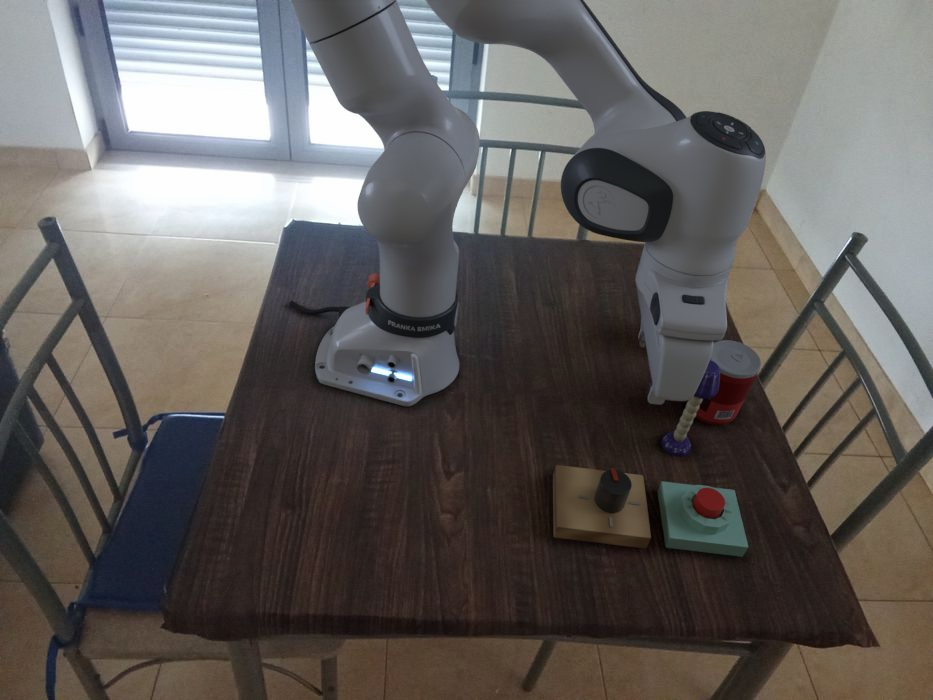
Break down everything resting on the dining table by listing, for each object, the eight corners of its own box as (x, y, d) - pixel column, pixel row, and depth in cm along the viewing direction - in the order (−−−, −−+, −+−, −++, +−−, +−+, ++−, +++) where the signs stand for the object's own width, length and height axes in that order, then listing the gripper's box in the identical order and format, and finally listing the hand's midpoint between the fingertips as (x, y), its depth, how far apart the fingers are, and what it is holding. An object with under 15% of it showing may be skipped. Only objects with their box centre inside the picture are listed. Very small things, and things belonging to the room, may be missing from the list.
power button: (695, 516, 91) (699, 508, 90) (690, 493, 94) (694, 485, 93) (723, 520, 91) (727, 512, 90) (718, 497, 94) (722, 489, 93)
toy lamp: (690, 462, 103) (728, 381, 91) (658, 456, 103) (692, 373, 92) (689, 438, 106) (726, 356, 95) (658, 431, 107) (691, 349, 95)
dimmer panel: (553, 537, 91) (556, 526, 90) (552, 475, 99) (556, 463, 97) (646, 549, 91) (651, 537, 89) (638, 486, 99) (643, 474, 97)
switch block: (665, 547, 92) (673, 530, 89) (657, 491, 98) (664, 473, 96) (742, 557, 92) (753, 539, 89) (729, 499, 98) (738, 482, 96)
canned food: (744, 408, 112) (770, 357, 104) (721, 435, 107) (746, 383, 100) (701, 383, 115) (723, 332, 108) (676, 407, 111) (698, 356, 103)
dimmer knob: (628, 513, 92) (636, 492, 89) (598, 513, 92) (605, 493, 89) (620, 487, 95) (627, 467, 92) (591, 488, 94) (597, 468, 92)
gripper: (640, 218, 81) (615, 312, 90) (663, 333, 66) (630, 432, 75) (695, 223, 81) (665, 317, 90) (731, 340, 66) (690, 438, 75)
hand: (649, 370), depth 83 cm, fingers open, 8 cm apart
